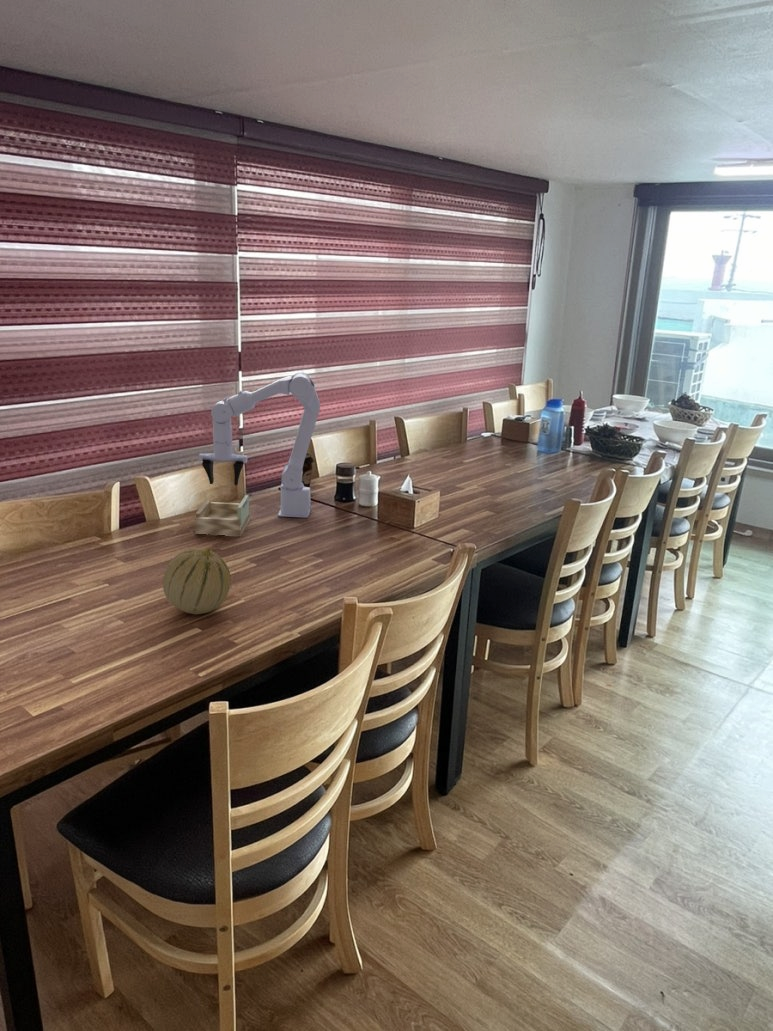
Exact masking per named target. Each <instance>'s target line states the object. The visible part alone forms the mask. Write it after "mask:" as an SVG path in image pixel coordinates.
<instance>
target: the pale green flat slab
mask: <svg viewBox="0 0 773 1031" xmlns="http://www.w3.org/2000/svg"><path fill="white" fill-rule="evenodd" d="M249 504H250V494H244V496H243V498H242V500H241V501H240V504H239V506H238V507H237V511H238V519H241V527H242V525H243V523H244V522H245V520H246V518H247V517H248V515H249Z"/></svg>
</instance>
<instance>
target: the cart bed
mask: <svg viewBox="0 0 773 1031" xmlns="http://www.w3.org/2000/svg"><path fill="white" fill-rule="evenodd" d="M240 503H241V502H240ZM240 503H239V502H236V503H235V502H221V501H220V502H214V501H211V499H206V500H205V501H204V503H203V504H202V505H201V506H200V507H199V509H198V510H197V511H196V513H195V517H194V529H195V530H194V531H195V532H194V533H195V534H194V535H196V534H207V535H206V536H217V535H225V536H224V537H238V536H240V537H241V536H242V535H241V534H243V533H244V531H245V529H246V527H247V525H248V524H249V522H250V520H251V503H249V515H248V517H247V518H246V520H245V522H244V523H243V525H242V527H241V519H238V511H237V507H238V506H239V504H240ZM242 532H243V533H242ZM208 534H210V535H208Z"/></svg>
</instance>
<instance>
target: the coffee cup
mask: <svg viewBox="0 0 773 1031" xmlns="http://www.w3.org/2000/svg"><path fill="white" fill-rule="evenodd" d="M314 462H315V460H314V458H313V457H312V455H311V454H309V453H308V452H307V453H306V457H305V460H304V464H303V468H302V470H303V474H302V483H303V484H304V487H309V488H310V489H311V482H312V474H313V463H314Z"/></svg>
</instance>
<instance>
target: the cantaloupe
mask: <svg viewBox="0 0 773 1031" xmlns="http://www.w3.org/2000/svg"><path fill="white" fill-rule="evenodd" d="M231 580H232V579H231V572H230V568H229V567H228V565H227V562H226V561H225V560H224V559H223V558H222V557H221V556H220V555H219V554H217V553H216V552H214V551H212V548H211V547H210V546H208V547H207V549H204V548H199V547H197V548H194V547H193V548H187V549H185V550H182V551H181V552H179V553H178V554H177V555H175V556H174V557H173V558H172V559H171V561H170V562H169V563H168V565H167V567H166V569H165V571H164V574H163V578H162V589H163V590H162V591H163V593H164V597H165V598H166V600H167V601H168V602H169V603H170V604H171V606H173V607H175V609H178V610H179V611H182V612H184V613H187V614H191V615H203V614H206V613H210V612H213V611H214V610H216V609H218V608H220V606H221V605H222V604H223V603H224V602H225V600H226V599H227V596H228V594H229V591H230V588H231Z"/></svg>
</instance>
